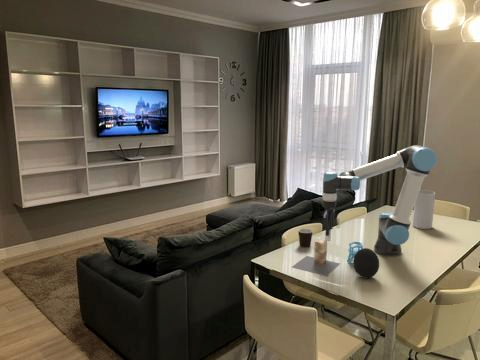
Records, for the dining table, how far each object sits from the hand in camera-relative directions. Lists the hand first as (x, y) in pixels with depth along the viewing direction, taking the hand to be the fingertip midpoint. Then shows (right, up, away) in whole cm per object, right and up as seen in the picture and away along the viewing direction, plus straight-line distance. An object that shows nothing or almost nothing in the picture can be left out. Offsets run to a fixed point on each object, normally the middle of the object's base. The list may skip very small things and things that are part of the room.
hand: (327, 240), depth 220 cm
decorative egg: (+13, -15, -24) cm, 31 cm away
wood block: (-6, -11, -6) cm, 14 cm away
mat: (-9, -12, -11) cm, 18 cm away
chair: (+13, -12, -7) cm, 19 cm away
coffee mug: (-9, -7, +20) cm, 23 cm away
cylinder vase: (+79, +1, +55) cm, 96 cm away
